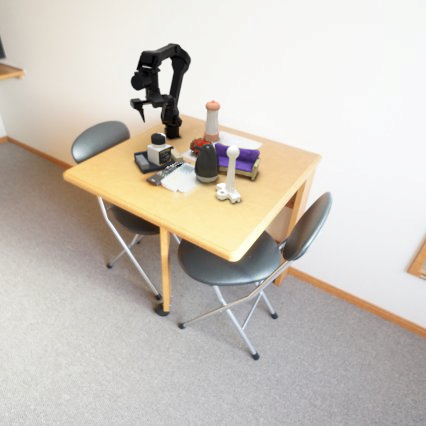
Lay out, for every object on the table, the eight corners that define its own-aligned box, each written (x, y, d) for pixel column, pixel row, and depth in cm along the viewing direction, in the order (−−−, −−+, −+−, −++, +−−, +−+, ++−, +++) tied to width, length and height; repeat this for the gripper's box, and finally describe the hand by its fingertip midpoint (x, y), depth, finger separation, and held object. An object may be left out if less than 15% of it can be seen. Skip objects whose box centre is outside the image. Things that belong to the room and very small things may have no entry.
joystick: (242, 200, 118) (249, 151, 106) (226, 206, 115) (230, 156, 102) (225, 186, 125) (229, 138, 113) (209, 191, 122) (211, 143, 110)
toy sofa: (206, 171, 134) (206, 148, 128) (212, 162, 141) (214, 140, 135) (254, 181, 129) (257, 159, 123) (259, 171, 136) (262, 149, 130)
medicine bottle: (159, 166, 133) (157, 139, 126) (148, 161, 136) (145, 134, 129) (171, 160, 137) (170, 134, 130) (160, 155, 141) (158, 129, 134)
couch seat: (173, 153, 146) (172, 145, 144) (183, 165, 138) (183, 157, 135) (134, 161, 139) (133, 152, 137) (143, 173, 131) (142, 165, 128)
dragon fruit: (187, 158, 146) (210, 157, 151) (194, 155, 138) (218, 154, 144) (184, 140, 146) (207, 139, 151) (192, 135, 138) (216, 135, 144)
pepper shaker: (205, 135, 164) (206, 97, 152) (219, 136, 163) (221, 98, 152) (203, 141, 158) (204, 102, 147) (217, 142, 158) (220, 103, 146)
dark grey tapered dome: (194, 172, 133) (195, 137, 124) (219, 173, 133) (222, 139, 124) (192, 184, 125) (192, 149, 116) (218, 186, 125) (221, 151, 116)
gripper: (135, 92, 124) (139, 130, 133) (180, 87, 131) (180, 124, 140) (127, 84, 132) (131, 121, 141) (170, 80, 139) (171, 116, 148)
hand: (154, 121), depth 142 cm, fingers open, 9 cm apart
